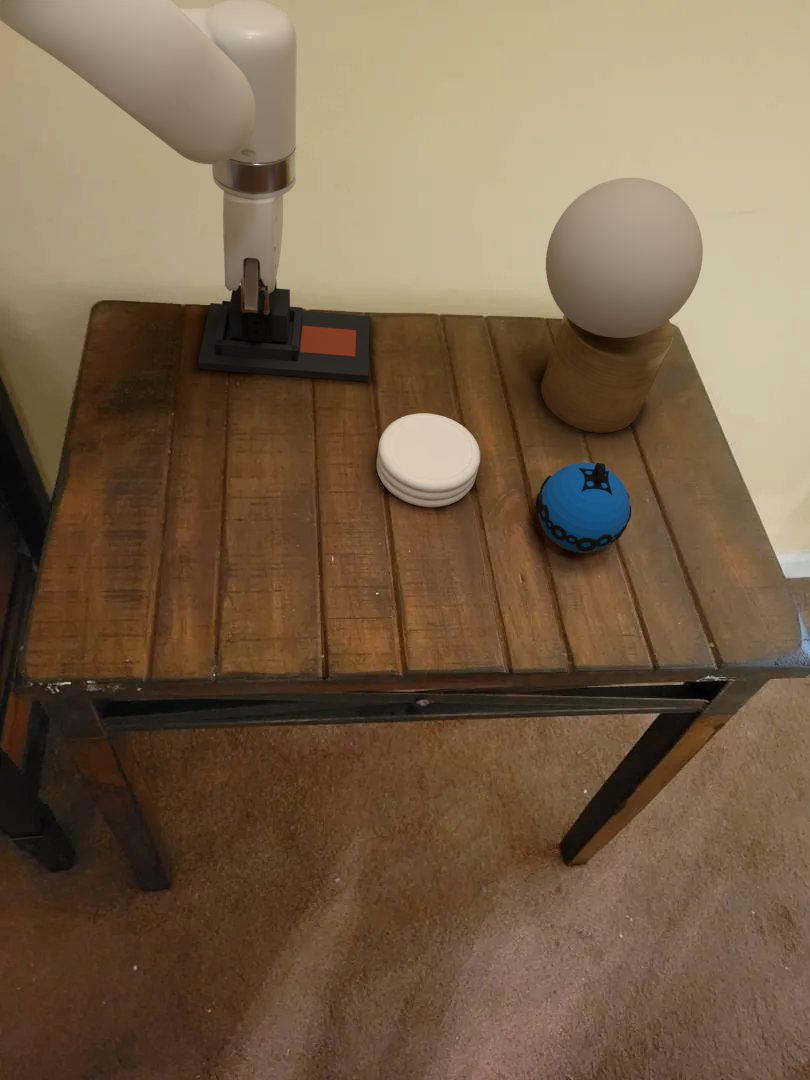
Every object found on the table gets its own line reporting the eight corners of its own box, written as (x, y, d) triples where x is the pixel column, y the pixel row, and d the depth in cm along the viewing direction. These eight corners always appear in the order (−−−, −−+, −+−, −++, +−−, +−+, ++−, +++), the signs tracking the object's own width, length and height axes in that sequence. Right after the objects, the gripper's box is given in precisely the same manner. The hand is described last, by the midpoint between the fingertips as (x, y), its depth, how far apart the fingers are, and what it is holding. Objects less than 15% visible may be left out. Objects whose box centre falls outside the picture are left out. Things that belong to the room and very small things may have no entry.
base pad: (198, 369, 87) (196, 351, 85) (210, 309, 93) (209, 291, 91) (367, 382, 89) (369, 364, 87) (368, 323, 95) (370, 305, 93)
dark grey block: (230, 337, 87) (228, 311, 85) (235, 311, 90) (233, 284, 87) (287, 342, 88) (286, 316, 85) (290, 315, 91) (289, 289, 88)
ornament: (619, 575, 77) (657, 509, 69) (529, 566, 77) (557, 498, 69) (609, 505, 82) (643, 435, 74) (525, 496, 82) (550, 425, 74)
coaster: (356, 476, 81) (358, 451, 78) (411, 420, 86) (415, 396, 83) (441, 526, 78) (447, 503, 75) (492, 465, 84) (499, 442, 81)
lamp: (539, 457, 85) (615, 245, 65) (487, 367, 93) (542, 152, 73) (663, 434, 89) (771, 228, 69) (605, 349, 97) (686, 141, 77)
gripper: (223, 111, 79) (233, 273, 93) (199, 210, 69) (214, 374, 83) (301, 120, 80) (299, 279, 94) (289, 218, 70) (289, 380, 84)
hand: (259, 322), depth 89 cm, fingers closed on dark grey block, 4 cm apart
